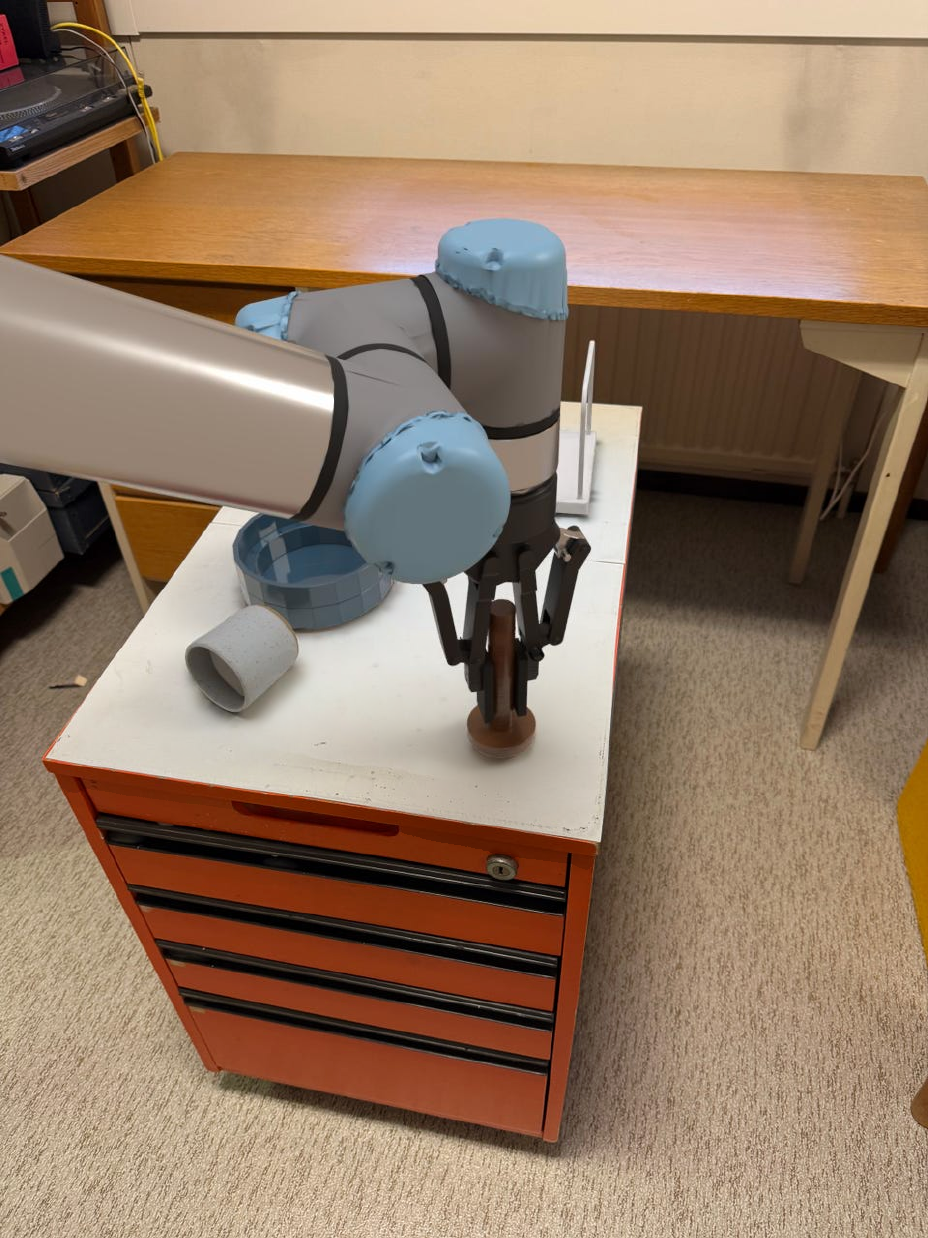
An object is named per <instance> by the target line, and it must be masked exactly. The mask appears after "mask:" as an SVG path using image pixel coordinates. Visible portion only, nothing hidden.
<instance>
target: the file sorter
mask: <svg viewBox="0 0 928 1238" xmlns="http://www.w3.org/2000/svg"><path fill="white" fill-rule="evenodd" d="M588 343H589V344H588V349H587V356H586V362H585V369H584V375H583V381H582V388H581V389H582V390H581V400H580V401H581V402H580V420H579V421H580V422H579V424H580V425H579V429H560V437H559V463H558V467H557V470H556V472H557V497H556V514H572V515H588V514H589V509H590V508H589V507H590V500H591V491H592V483H593V482H592V481H593V471H594V465H595V455H596V447H597V431H596V430H592V413H593V398H594V397H593V393H594V375H595V357H596V356H595V355H596V353H595V352H596V342H595V340H590V341H589V342H588Z"/></svg>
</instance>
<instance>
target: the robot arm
mask: <svg viewBox="0 0 928 1238" xmlns="http://www.w3.org/2000/svg"><path fill="white" fill-rule="evenodd" d="M434 262H435V263H434V271H431V272H428V273H421V274H418V275H417V276H413V277H407V278H400V279H393V280H387V281H379V282H373V283H366V284H365V283H364V284H359V285H358V284H357V285H350V286H343V287H336V288H330V289H323V290H315V291H308V292H302V290H301V291H300V290H299V291H297V290H296V291H291V292H290V293H288V294H286V295H283V296H278V297H274V298H270V299H266V300H261V301H257V302H253V303H249V304H247V305H244V306H243V307H242V308H241V309H240V310H239V311H238V312H237V314H236V316H235V320H234V325H233V324H230V323H226V322H223V321H220V320H217V319H214V318H210V317H207V316H203V315H200V314H197V313H194V312H191V311H187V310H184V309H181V308H177V307H174V306H171V305H168V304H164V303H162V302H158V301H155V300H151V299H148V298H144V297H142V296H138V295H135V294H132V293H128V292H125V291H122V290H118V289H115V288H112V287H109V286H106V285H102V284H99V283H96V282H93V281H89V280H86V279H82V278H79V277H77V276H74V275H73V276H72V275H70V274H66V273H63V272H60V271H57V270H53V269H50V268H46V267H45V266H41V265H36V264H33V263H30V262H27V261H23V260H20V259H18V258H14V257H11V256H7V255H4V254H0V464H6V465H11V466H15V467H21V468H25V469H31V470H35V471H41V472H46V473H51V474H56V475H62V476H66V477H72V478H77V479H82V480H88V481H93V482H96V483H97V482H98V483H102V484H103V483H104V484H108V485H113V486H119V487H124V488H129V489H133V490H137V491H138V490H139V491H144V492H148V493H155V494H159V495H165V496H170V497H174V498H180V499H185V500H190V501H195V502H199V503H205V504H211V505H216V506H220V507H226V508H231V509H236V510H241V511H246V512H251V513H255V514H256V513H257V514H259V513H261V514H266V515H271V516H277V517H282V518H286V519H290V520H295V521H299V522H303V523H306V524H310V525H315V526H320V527H325V528H331V529H336V530H341V531H345V534H346V536H347V539H349V540H350V541H351V544H352V546H353V548H354V549H355V550H356V551H357V552H358V553H360V554H361V556H362V557H363V558H364V559H365V560H366V562H367V563H368V564H369V565H370V566H371V567H372V568H373V569H375V570H376V571H378V572H379V573H381V574H383V575H385V576H386V577H387V578H389V579H391V580H393V582H398V583H402V584H409V585H422V587H423V588H424V589H425V591H426V592H427V594H428V598H429V602H430V606H431V612H432V614H433V619H434V623H435V627H436V631H437V635H438V639H439V644H440V646H441V649H442V653H443V655H444V658H445V661H446V663H447V665H448V666H451V667H455V666H459V665H460V664H463V671H464V672H463V673H464V675H463V676H464V677H463V678H464V680H465V683H466V685H467V688H468V690H469V692H470V693H471V694H472V693H476V694H475V695H476V703H477V704H476V705H478V706H479V709H480V712H481V715H482V717H483V720H484V723H485V724H487V723H492V722H494V699H493V664H492V662H491V659H490V657H489V655H488V648H487V645H488V628H489V621H490V613H491V605H492V601H494V600H496V599H495V598H496V594H497V593H496V591H497V586H500V585H502V584H505V583H510V584H512V592H513V600H514V604H515V606H516V624H517V632H518V636H519V637H515V693H514V708H515V711H516V713H517V716H518V717H520V716H525V715H527V707H528V682H529V681H533V680H534V681H535V680H537V679H538V676H539V673H540V662H542V661H543V660H544V659H545V653H544V650H543V648H545V647H546V646H549V645H550V646H552V647H557V646H559V645H561V644H562V643H563V641H564V638H565V634H566V630H567V625H568V621H569V617H570V612H571V608H572V603H573V598H574V594H575V589H576V586H577V580H578V576H579V572H580V570H581V567H582V566H583V565H584V563H585V561H586V560H587V558H588V557H589V555H590V553H591V551H592V546H591V544H590V543H589V541H588V539H587V537H586V536H585V535H584V533H583V532H582V530H581V528H580V527H579V526H578V525H575V524H574V525H570V526H568V527H567V529H566V528H564V527H560V526H559V525H558V523H557V521H556V515H557V513H556V497H557V472H556V470H557V467H558V463H559V437H560V430H561V405H562V404H561V403H562V401H561V400H562V384H563V368H564V367H563V365H564V351H565V337H566V323H567V319H568V317H569V311H570V310H569V307H568V269H567V254H566V246H565V245H564V243H563V241H562V239H561V238H560V236H559V235H558V234H556V233H555V232H553V231H552V230H550V228H548V226H547V227H546V226H545V225H543V224H540V223H537V222H533V221H530V220H525V219H518V218H505V217H502V218H501V217H499V218H498V217H497V218H484V219H475V220H471V221H468V222H467V223H466V224H464V225H457V226H453V227H451V228H449V229H448V230H447V231H446V232H444V234H443V235H442V236H441V238H440V239H439V241H438V244H437V258H436V259H435V261H434ZM552 551H553V555H552V559H551V563H550V569H549V574H548V579H547V583H546V587H545V588H546V589H545V594H544V598H543V604H542V608H541V613H540V618H539V609H538V598H537V591H538V583H537V574H536V573H537V572H536V571H537V570H538V568H539V567H540V566H541V565H542V563H543V562H544V561H545V560H546V558H547V557H548V556H549V554H550V553H551V552H552ZM462 573H464V575H466V576H467V590H466V591H467V592H466V602H465V611H464V621H463V628H462V629H463V631H462V636H459V639H458V633H457V629H456V625H455V624H456V623H455V620H454V616H453V611H452V606H451V601H450V597H449V594H448V591H447V589H446V586H445V585H446V584H447V583H448V580H449V579H451V578H454V577H455V576H458V575H460V574H462Z"/></svg>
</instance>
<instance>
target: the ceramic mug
mask: <svg viewBox="0 0 928 1238" xmlns="http://www.w3.org/2000/svg"><path fill="white" fill-rule="evenodd" d="M299 648H300V647H299V643H298V637H297V636H296V633H295V631H294V628H291V626H290V625H289V623H288V622H287V621H286V620H285V619H284V618H283V617H282V616H281V615H280V614H279V613H278V612H276V611H275V610H273V609H271V608H269V607H266V606H264V605H258V604H256V605H251V606H248V605H247V606H246V607H244V608H241V609H240V610H237V611H236V612H235V613H232V615H230V616H229V617H228V618H227V619H225V620H224V621H222V622H221V623H219V624H218V625H216V626H215V627H213V628H212V629H210V630H209V631H208V632H206V633H204V634H203V635H202V636H199V637H198V638H197V639H195V640H194V641H192V642H191V643H190V644H189V645H188V646H187V648H186V649H185V653H184V660H185V666H186V668H187V671H188V673H189V675H190V677H191V679H192V681H193V682H194V684H195V685H196V686H197V687H198V689H199V690H200V691H201V692H202V693H203V694H204V696H206V697H207V698H208V699H209V700H210V701H211V702H212V703H214V704H215V705H216V706H217V707H220V708H222V709H224V710H225V711H229V712H232V713H240V712H243V711H245V710H247V708H249V707H250V705H251V704H253V703H254V702H255V701H256V700H257V699H258V698H259V697H261V696H262V695H263V694H264V693H265V692H266V691H267V690H269V688H270V687H271V686H272V685H273V684H274V683H275V682H276V681H277V680H279V679H280V678H281V677H282V676H284V675H285V673H286V672H287V671H288V670H289V669H291V667H292V666H293V664H294V663H295V662H296V660H297V658H298V656H299Z"/></svg>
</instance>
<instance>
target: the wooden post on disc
mask: <svg viewBox="0 0 928 1238" xmlns="http://www.w3.org/2000/svg"><path fill="white" fill-rule="evenodd" d="M516 624H517V617H516V606H515V602H513V601H512V600H510V599H507V598H498V599H494V600H492V605H491V613H490V621H489V628H488V636H487V652H488V655H489V657H490V659H491V662H492V664H493V699H494V722H492V723H487V724H485V723H484V720H483V717H482V715H481V712H480V709H479V706H478V704H476V705H475V706H474V707H473V708H472V709H471V711H470V712H469V713H468V716H467V718H466V736H467V739H468V741H469V743H470V745H471V746H472V747H473V748H474V749H475V750H477V751H478V752H480V753H481V754H482V755H485V756H488V757H492V758H497V759H498V758H501V759H502V758H503V759H504V758H506V759H507V758H511V757H515V756H518V755H520V754H522V753H524V752H525V751H526V750H528V749H529V748H530V747H531V746H532V745H533V743H534V741H535V738H536V735H537V734H536V733H537V732H536V731H537V721H536V717H535V715H534V713H533V711H532V709H530V708H529V707H528V706H527V715H525V716H520V717H518V716H517V713H516V711H515V708H514V693H515V638H516V633H517V632H516V631H517V630H516Z"/></svg>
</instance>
